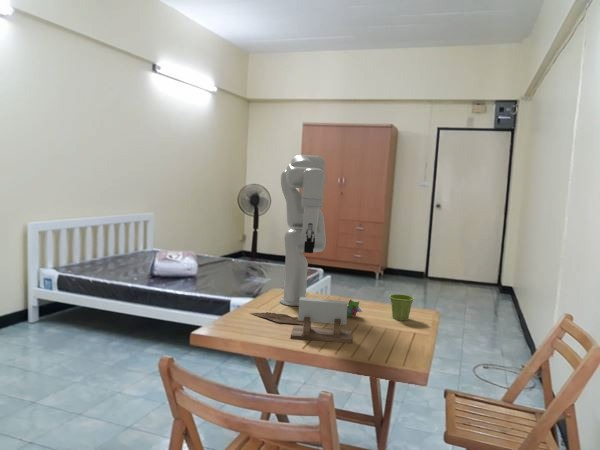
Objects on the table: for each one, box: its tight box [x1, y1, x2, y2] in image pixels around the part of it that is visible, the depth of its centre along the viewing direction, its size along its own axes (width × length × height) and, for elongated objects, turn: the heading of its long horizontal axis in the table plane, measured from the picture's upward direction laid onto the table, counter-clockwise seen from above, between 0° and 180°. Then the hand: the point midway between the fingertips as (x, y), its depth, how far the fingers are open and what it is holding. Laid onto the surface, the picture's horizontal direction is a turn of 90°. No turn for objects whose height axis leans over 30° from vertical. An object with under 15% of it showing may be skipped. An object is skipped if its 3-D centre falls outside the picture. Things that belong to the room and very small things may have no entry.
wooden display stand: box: [289, 317, 353, 344], centre depth 160 cm, size 11×20×7 cm, turn 85°
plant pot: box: [389, 293, 415, 321], centre depth 187 cm, size 9×9×9 cm
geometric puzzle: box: [347, 299, 363, 320], centre depth 185 cm, size 7×7×8 cm
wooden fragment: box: [249, 311, 304, 326], centre depth 177 cm, size 26×11×1 cm, turn 60°
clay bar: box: [297, 297, 349, 326], centre depth 160 cm, size 4×16×7 cm, turn 83°
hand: (309, 250), depth 173 cm, fingers open, 9 cm apart
